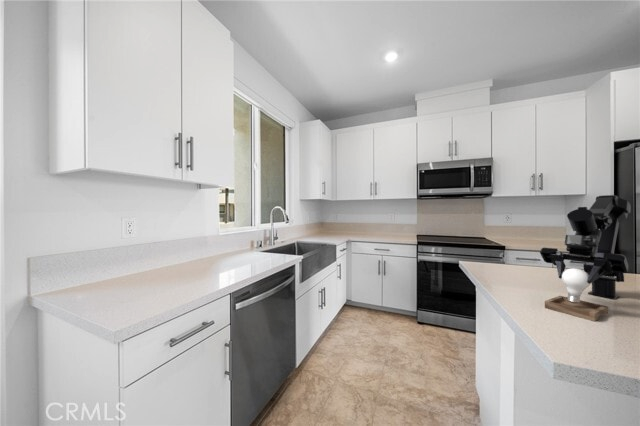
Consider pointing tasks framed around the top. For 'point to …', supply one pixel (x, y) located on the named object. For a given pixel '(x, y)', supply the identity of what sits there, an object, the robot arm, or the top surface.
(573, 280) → the lightbulb
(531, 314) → the top surface
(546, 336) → the top surface
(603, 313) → the walnut tray
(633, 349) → the top surface
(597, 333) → the top surface
